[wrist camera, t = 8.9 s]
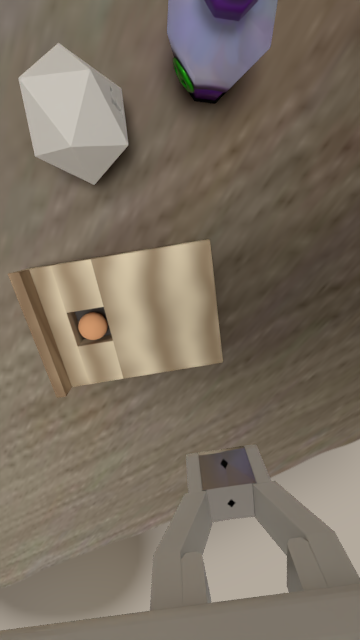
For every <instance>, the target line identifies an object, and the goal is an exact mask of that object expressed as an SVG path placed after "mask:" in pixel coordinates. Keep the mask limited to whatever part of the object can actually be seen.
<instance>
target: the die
mask: <svg viewBox="0 0 360 640" xmlns="http://www.w3.org/2000/svg"><path fill="white" fill-rule="evenodd" d="M19 83H20V88H21V92H22V97H23V102H24V106H25V111H26V116H27V121H28V125H29V130H30V135H31V139H32V144H33V149H34V154H35V157H37V158H39V159H42V160H44V161H46V162H48V163H50V164H52V165H54V166H56V167H58V168H60V169H62V170H64V171H66V172H68V173H70V174H72V175H75V176H77V177H79V178H81V179H83V180H85V181H87V182H89V183H91V184H93V185H95V184H96V182H97V181H98V180H99V179H100V178H101V177H102V175H103V174H104V173H105V172H106V171H107V170H108V168H109V167H110V166H111V165H112V164H113V163H114V161H115V160H116V159H117V158H118V157H119V156H120V154H121V153H122V152H123V151H124V150H125V149H126V147H127V146H128V145H129V144H128V136H127V128H126V120H125V113H124V105H123V97H122V89H121V88H120V87H119V86H117V85H116V84H115V83H113V82H112V81H110V80H109V79H108V78H106V77H105V76H104V75H102V74H101V73H99V72H98V71H97V70H95V69H94V68H92V67H91V66H90V65H88V64H87V63H86V62H84V61H83V60H81V59H80V58H79V57H77V56H76V55H75V54H73V53H72V52H70V51H69V50H68V49H66V48H65V47H63V46H62V45H61V44H59V43H58V44H57V45H56V46H54V47H53V48H52V49H51V50H50V51H49V52H48V53H46V54H45V55H44V56H43V57H42V58H41V59H39V60H38V61H37V62H36V63H35V64H34V65H33V66H31V67H30V68H29V69H28V70H27V71H26V72H25V73H23V74H22V75H21V76H20V77H19Z"/></svg>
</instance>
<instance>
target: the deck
mask: <svg viewBox="0 0 360 640" xmlns="http://www.w3.org/2000/svg"><path fill="white" fill-rule="evenodd" d="M8 276H9V278H10V281H11V283H12V286H13V288H14V291H15V294H16V296H17V299H18V301H19V304H20V306H21V309H22V311H23V314H24V316H25V319H26V321H27V324H28V326H29V329H30V331H31V334H32V336H33V339H34V341H35V344H36V346H37V349H38V351H39V354H40V356H41V359H42V361H43V364H44V366H45V369H46V371H47V374H48V376H49V379H50V381H51V384H52V387H53V389H54V392H55V394H56V397H57V398H58V397H64V396H67V394H68V392H69V391H70V389H71V388H72V387H75V386H81V385H87V384H93V383H99V382H105V381H111V380H118V379H124V378H130V377H136V376H142V375H148V374H155V373H161V372H167V371H173V370H179V369H185V368H191V367H198V366H204V365H210V364H216V363H222V362H223V358H222V349H221V339H220V330H219V321H218V311H217V302H216V293H215V283H214V274H213V264H212V255H211V246H210V240H209V239H205V240H199V241H192V242H186V243H180V244H174V245H168V246H162V247H156V248H150V249H144V250H138V251H132V252H126V253H120V254H113V255H107V256H101V257H95V258H89V259H83V260H77V261H71V262H65V263H59V264H53V265H47V266H40V267H34V268H29V269H25V270H21V271H17V272H13V273H9V274H8ZM93 312H94V313H99V314H101V315H102V316H103V317H104V318H105V319H106V321H107V325H108V328H107V331H106V333H105V335H104V336H103V337H101V338H100V339H97V340H89V339H86V338H84V337H83V336H82V335H81V334H80V332H79V328H78V324H79V321H80V319H81V318H82V317H83V316H84V315H85V314H88V313H93Z"/></svg>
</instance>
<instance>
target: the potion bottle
mask: <svg viewBox="0 0 360 640" xmlns="http://www.w3.org/2000/svg"><path fill="white" fill-rule="evenodd" d="M277 1H278V0H169V2H168V24H167V34H168V37H169V41H170V44H171V48H172V51H173V55H174V58H173V65H174V69H175V72H176V74H177V76H178V78H179V81H180V83H181V84H182V85H183V86H184V88H185V89H186V90H187V91H188V92H189V93H190V95H191V96H192V98H193V99H194V101H198V102H206V103H216V102H217V101H218V100H219V99H220V98H221V97H222V96H223V95H224V94H225V93H226V92H227V91H228V90H229V89H230V88H231V87H232V86H233V85H234V84H235V83H236V82H237V81H238V80H239V79H240V78H241V77H242V76H243V75H244V74H245V73H246V72H247V71H248V70H249V69H250V68H251V67H252V66H253V65H254V64H255V63H256V62H257V61H258V60H259V59H260V57H261V56H262V55H263V54H264V53H265V52H266V51H267V50H268V49H269V48H270V47H271V40H272V33H273V27H274V20H275V14H276V7H277Z"/></svg>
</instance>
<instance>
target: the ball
mask: <svg viewBox="0 0 360 640" xmlns="http://www.w3.org/2000/svg"><path fill="white" fill-rule="evenodd" d="M78 328H79V332H80V334H81V335H82V336H83V337H84V338H86V339H89V340H97V339H100V338H101V337H103V336H104V335H105V333H106V331H107V328H108V325H107V321H106V319H105V318H104V317H103V316H102V315H101V314H99V313H94V312H93V313H88V314H85V315H84V316H83V317H82V318H81V319H80V321H79V324H78Z"/></svg>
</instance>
